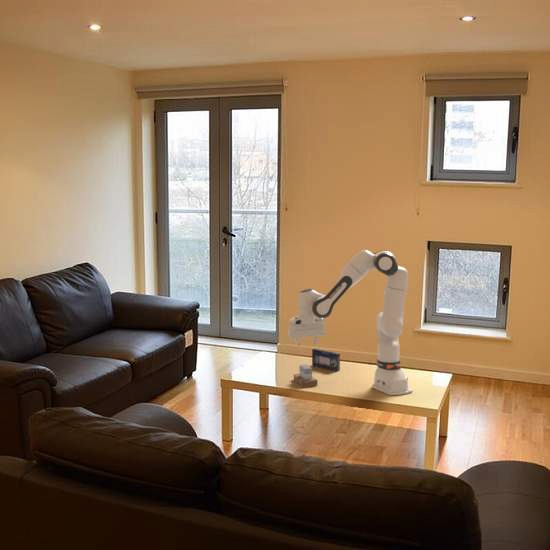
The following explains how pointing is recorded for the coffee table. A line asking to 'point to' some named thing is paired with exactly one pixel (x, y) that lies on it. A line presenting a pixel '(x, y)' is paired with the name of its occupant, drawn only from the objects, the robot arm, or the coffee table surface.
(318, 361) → the vhs cassette tape
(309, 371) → the housing
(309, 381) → the walnut stand
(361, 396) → the coffee table surface
